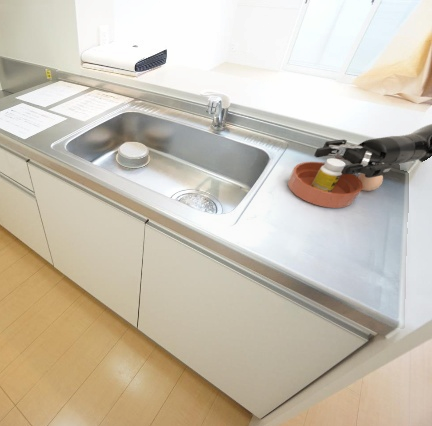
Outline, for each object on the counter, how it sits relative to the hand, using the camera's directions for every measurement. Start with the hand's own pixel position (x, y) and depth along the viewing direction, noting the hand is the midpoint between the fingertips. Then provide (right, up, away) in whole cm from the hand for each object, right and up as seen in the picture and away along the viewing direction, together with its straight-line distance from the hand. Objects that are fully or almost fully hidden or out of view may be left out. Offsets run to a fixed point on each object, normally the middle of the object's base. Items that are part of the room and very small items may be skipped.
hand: (329, 161), depth 68 cm
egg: (+14, -6, +7) cm, 17 cm away
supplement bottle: (+2, -7, +6) cm, 9 cm away
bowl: (+2, -7, +7) cm, 10 cm away
